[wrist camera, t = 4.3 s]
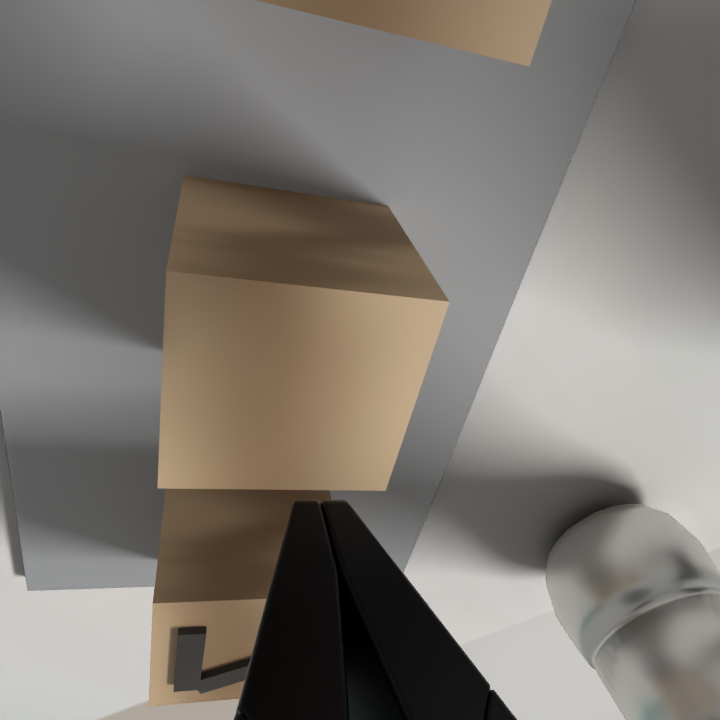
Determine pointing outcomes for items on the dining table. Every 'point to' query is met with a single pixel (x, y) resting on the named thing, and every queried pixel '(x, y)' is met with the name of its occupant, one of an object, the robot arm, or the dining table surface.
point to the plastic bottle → (641, 611)
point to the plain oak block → (290, 340)
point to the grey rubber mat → (257, 168)
